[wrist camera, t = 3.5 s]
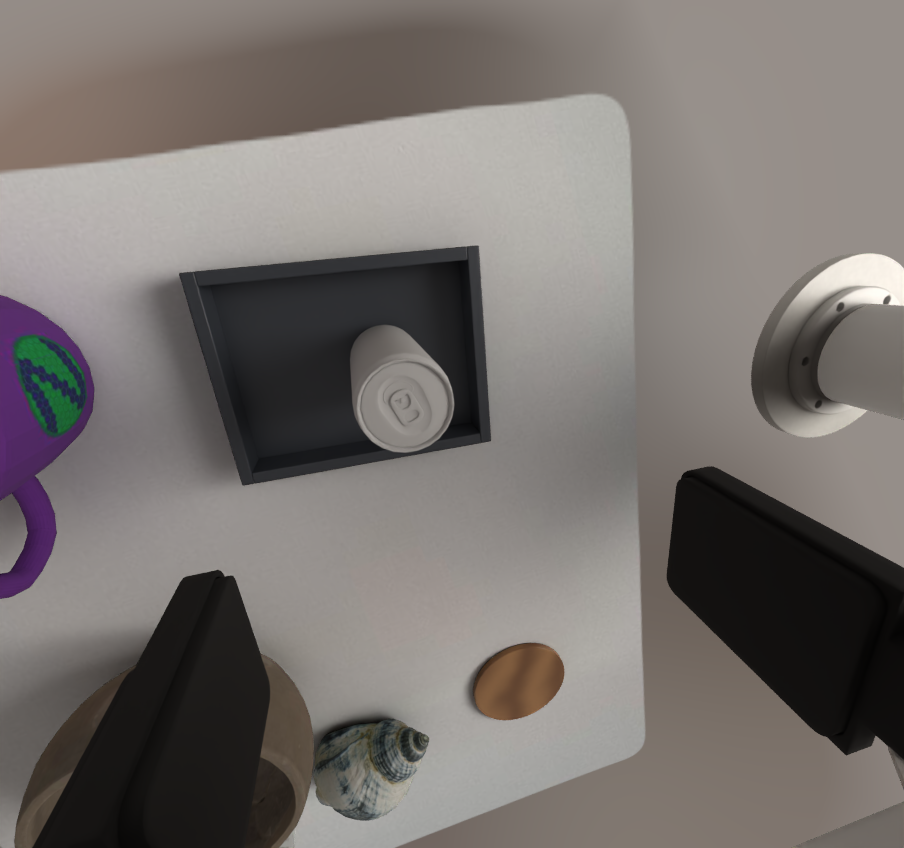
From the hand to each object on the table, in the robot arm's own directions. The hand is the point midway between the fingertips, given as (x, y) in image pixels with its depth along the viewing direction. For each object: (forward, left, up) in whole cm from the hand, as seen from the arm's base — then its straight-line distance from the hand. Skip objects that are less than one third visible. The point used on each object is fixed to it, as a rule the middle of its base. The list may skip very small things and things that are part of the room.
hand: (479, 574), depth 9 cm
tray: (+2, 0, -24) cm, 24 cm away
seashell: (+7, +38, -24) cm, 46 cm away
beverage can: (0, 0, -24) cm, 24 cm away
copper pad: (-9, +36, -24) cm, 44 cm away
